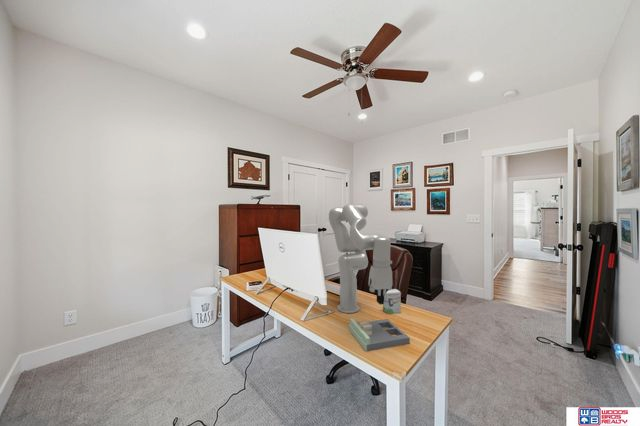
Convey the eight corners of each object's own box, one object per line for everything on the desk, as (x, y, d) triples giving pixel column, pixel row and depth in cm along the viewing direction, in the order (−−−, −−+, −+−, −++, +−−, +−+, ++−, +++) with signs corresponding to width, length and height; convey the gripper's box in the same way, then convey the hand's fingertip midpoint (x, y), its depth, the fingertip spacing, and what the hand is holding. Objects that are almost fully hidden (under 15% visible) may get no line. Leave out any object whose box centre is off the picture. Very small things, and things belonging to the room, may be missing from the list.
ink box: (396, 309, 135) (396, 288, 135) (401, 312, 130) (401, 291, 130) (382, 310, 134) (382, 289, 134) (386, 314, 129) (386, 292, 128)
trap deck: (348, 329, 113) (348, 319, 113) (387, 323, 118) (387, 313, 118) (365, 351, 95) (365, 338, 95) (409, 343, 100) (409, 331, 100)
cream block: (359, 331, 106) (359, 322, 106) (367, 330, 107) (367, 321, 107) (363, 336, 102) (363, 327, 102) (372, 335, 103) (371, 325, 103)
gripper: (391, 260, 112) (390, 298, 113) (362, 262, 109) (361, 301, 110) (400, 265, 105) (399, 305, 106) (370, 267, 101) (369, 308, 102)
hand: (380, 303), depth 108 cm, fingers closed
